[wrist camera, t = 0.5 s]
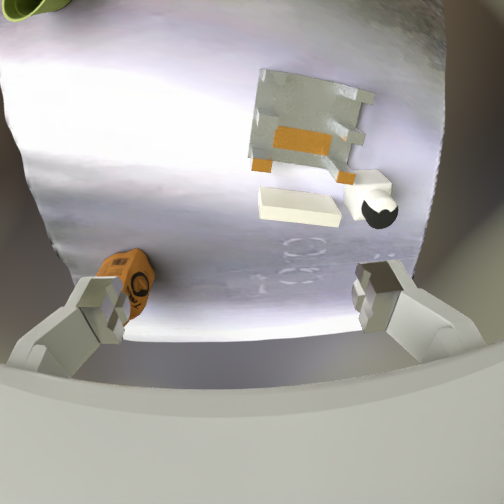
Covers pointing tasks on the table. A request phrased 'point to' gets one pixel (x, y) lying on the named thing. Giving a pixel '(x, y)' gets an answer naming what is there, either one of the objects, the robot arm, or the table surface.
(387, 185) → the medicine bottle
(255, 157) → the panel rack
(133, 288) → the coffee package
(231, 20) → the table surface
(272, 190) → the panel
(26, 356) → the robot arm
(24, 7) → the plant pot
